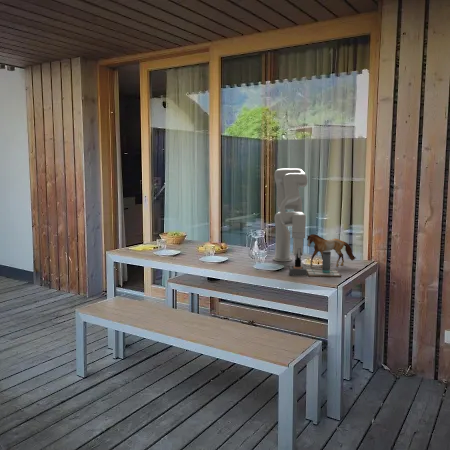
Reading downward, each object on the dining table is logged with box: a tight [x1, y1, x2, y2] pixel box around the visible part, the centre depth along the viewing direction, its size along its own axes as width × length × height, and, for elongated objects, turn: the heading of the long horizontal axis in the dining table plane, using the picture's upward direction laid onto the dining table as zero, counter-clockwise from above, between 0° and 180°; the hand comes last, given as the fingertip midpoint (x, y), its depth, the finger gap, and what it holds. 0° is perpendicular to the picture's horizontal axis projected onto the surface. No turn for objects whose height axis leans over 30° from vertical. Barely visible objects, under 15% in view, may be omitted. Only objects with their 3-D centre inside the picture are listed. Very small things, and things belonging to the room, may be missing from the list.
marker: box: [321, 250, 332, 273], centre depth 267 cm, size 5×5×12 cm
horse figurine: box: [306, 233, 357, 268], centre depth 286 cm, size 31×8×21 cm, turn 96°
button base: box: [288, 265, 308, 276], centre depth 268 cm, size 9×9×4 cm
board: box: [306, 268, 342, 278], centre depth 268 cm, size 15×18×1 cm
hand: (297, 266), depth 268 cm, fingers closed
